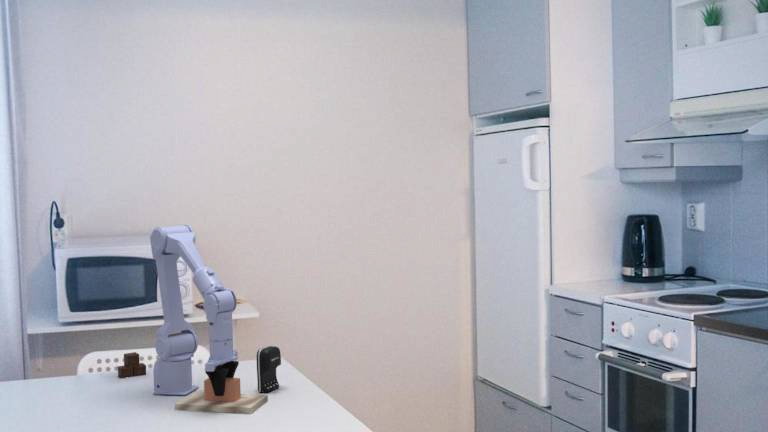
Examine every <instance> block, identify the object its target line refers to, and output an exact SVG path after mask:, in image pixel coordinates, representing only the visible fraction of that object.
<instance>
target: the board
mask: <svg viewBox="0 0 768 432" xmlns="http://www.w3.org/2000/svg"><path fill="white" fill-rule="evenodd" d="M268 395H269V394H260V393H259V394H258V393H241V398H240V399H239V400H237V401H236V402H221V401H205V395H204V391H194V392H193V391H192V392H191V393H189V394H187V395H186V396H185V397H184V398H183V397H182V399H180V400H178V401H177V402H175V403H174V404H173V405H174V411H186V412H187V411H190V412H208V413H209V412H211V413H227V414H228V413H230V414H245V415H247V414H250V415H251V414H253V413H254V412H255V411H256V410H257V409H259V408H260V407H261V406H263V405H264V404H265V403H267V402H268V401H269V396H268Z"/></svg>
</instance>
